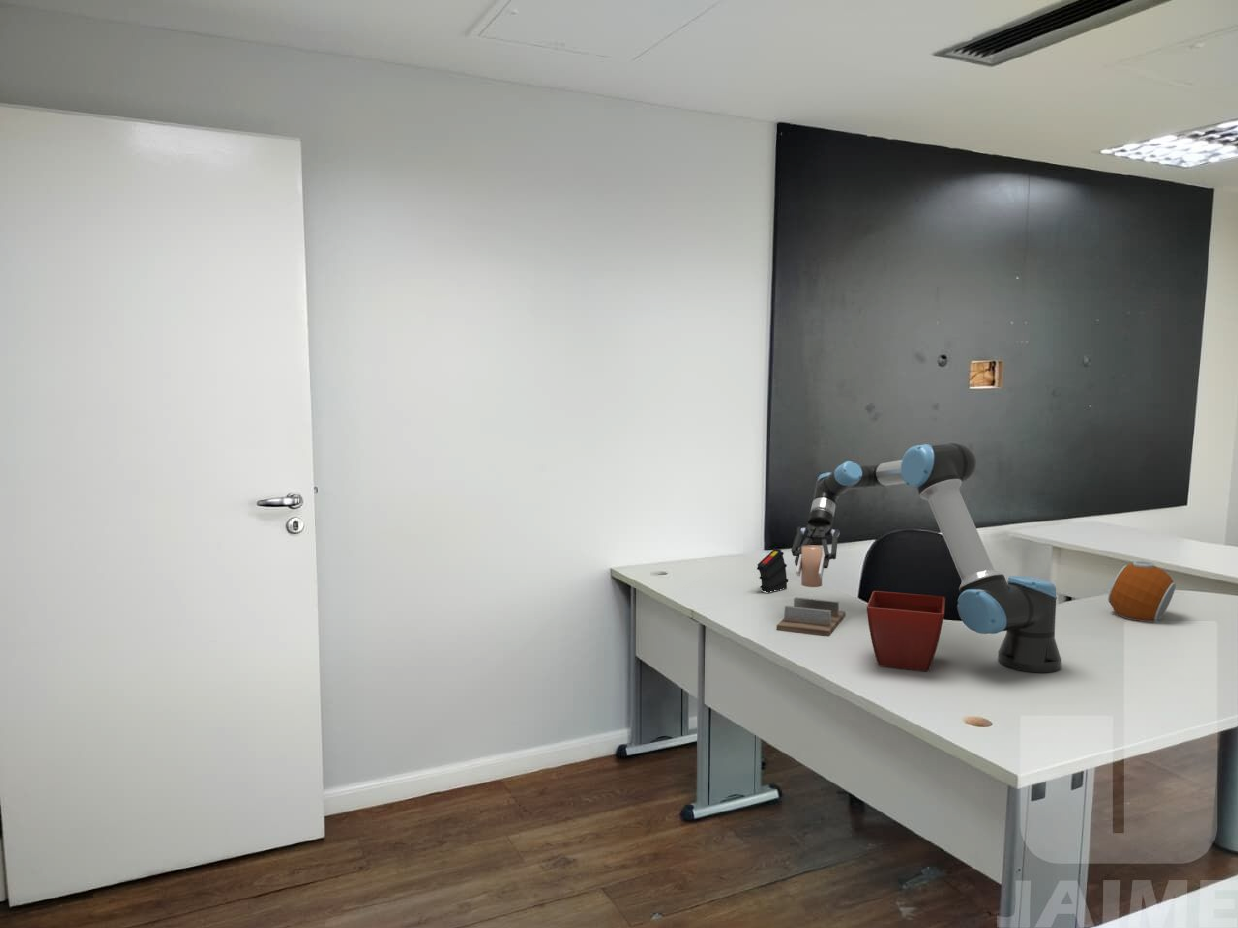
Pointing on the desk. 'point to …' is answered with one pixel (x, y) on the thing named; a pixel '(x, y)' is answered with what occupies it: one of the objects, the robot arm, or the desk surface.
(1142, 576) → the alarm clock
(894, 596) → the plant pot
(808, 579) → the peach pillar candle
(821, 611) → the rack
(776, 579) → the magazine
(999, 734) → the desk surface
